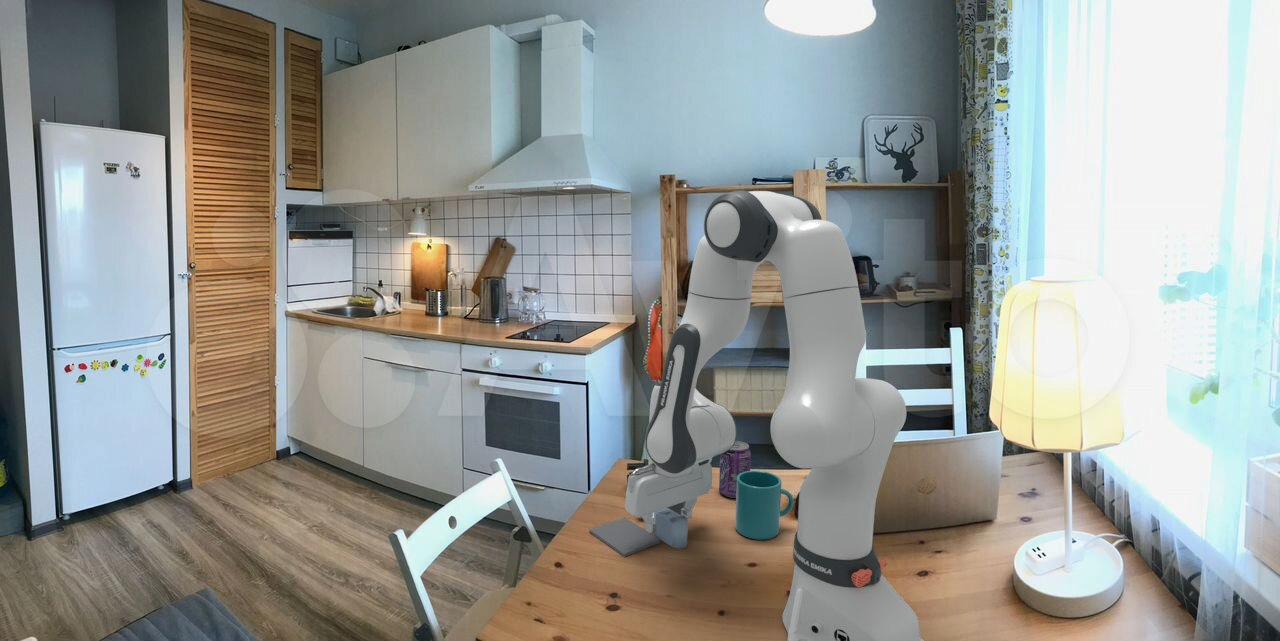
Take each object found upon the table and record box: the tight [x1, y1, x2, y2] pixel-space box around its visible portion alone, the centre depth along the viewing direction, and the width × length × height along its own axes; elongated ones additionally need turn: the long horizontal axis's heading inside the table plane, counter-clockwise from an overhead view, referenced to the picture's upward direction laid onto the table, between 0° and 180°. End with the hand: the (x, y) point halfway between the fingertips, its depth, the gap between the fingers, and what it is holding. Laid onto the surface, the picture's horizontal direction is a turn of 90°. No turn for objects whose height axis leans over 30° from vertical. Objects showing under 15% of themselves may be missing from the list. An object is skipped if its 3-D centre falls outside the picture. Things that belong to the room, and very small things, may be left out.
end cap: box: [626, 458, 649, 486], centre depth 144 cm, size 10×7×7 cm
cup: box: [734, 470, 794, 541], centre depth 127 cm, size 9×12×11 cm
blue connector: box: [650, 508, 689, 549], centre depth 124 cm, size 11×4×5 cm, turn 38°
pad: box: [588, 517, 662, 558], centre depth 124 cm, size 12×9×1 cm
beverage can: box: [718, 440, 752, 499], centre depth 144 cm, size 7×7×12 cm
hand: (668, 524), depth 124 cm, fingers open, 8 cm apart
